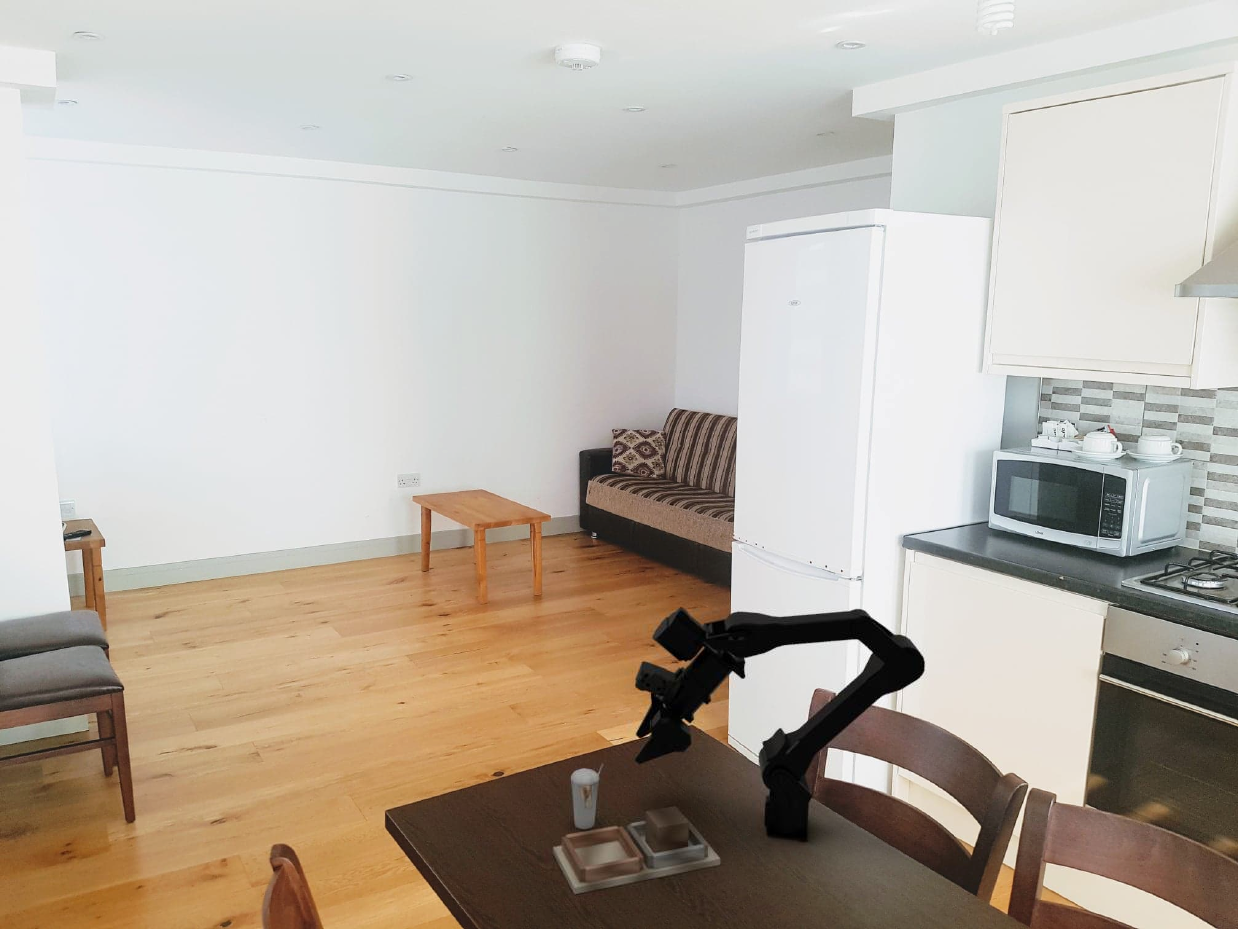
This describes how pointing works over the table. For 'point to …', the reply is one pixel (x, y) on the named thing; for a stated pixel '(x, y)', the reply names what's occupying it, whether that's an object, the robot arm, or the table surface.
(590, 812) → the milkshake
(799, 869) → the table surface
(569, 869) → the grey-brown divided tray
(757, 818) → the table surface
